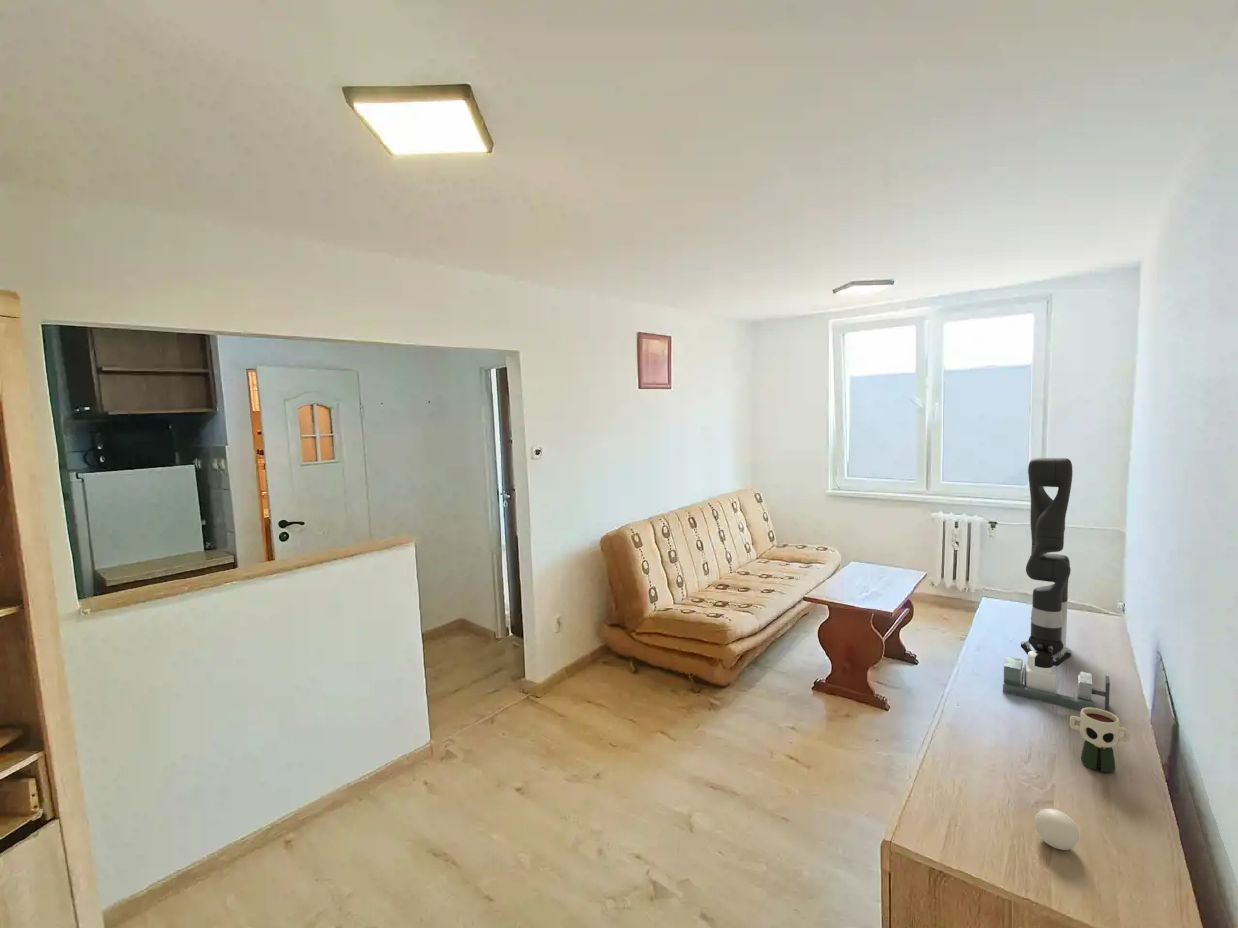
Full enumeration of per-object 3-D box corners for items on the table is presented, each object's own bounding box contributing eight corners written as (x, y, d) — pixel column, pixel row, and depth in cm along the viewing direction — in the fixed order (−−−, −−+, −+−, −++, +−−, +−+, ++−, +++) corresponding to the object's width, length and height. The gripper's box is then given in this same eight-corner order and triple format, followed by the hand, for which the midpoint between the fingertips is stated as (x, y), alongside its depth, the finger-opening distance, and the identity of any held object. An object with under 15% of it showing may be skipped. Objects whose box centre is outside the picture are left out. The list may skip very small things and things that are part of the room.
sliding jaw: (1077, 694, 166) (1078, 668, 165) (1107, 701, 161) (1109, 674, 160) (1077, 705, 160) (1078, 678, 159) (1108, 712, 155) (1110, 685, 155)
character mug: (1068, 765, 135) (1070, 714, 133) (1068, 750, 140) (1070, 701, 139) (1129, 782, 128) (1132, 729, 127) (1126, 766, 134) (1129, 714, 132)
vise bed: (1006, 678, 177) (1006, 656, 176) (1095, 698, 163) (1096, 674, 162) (1002, 691, 169) (1003, 668, 168) (1095, 714, 155) (1096, 688, 155)
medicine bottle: (1052, 688, 170) (1053, 650, 169) (1055, 699, 164) (1057, 660, 163) (1023, 683, 174) (1024, 646, 172) (1026, 693, 168) (1027, 655, 166)
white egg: (1062, 830, 115) (1063, 800, 114) (1085, 859, 108) (1087, 827, 107) (1026, 828, 116) (1027, 798, 115) (1047, 856, 109) (1048, 824, 108)
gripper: (1074, 622, 168) (1072, 676, 170) (1020, 613, 177) (1019, 665, 179) (1074, 631, 163) (1072, 687, 164) (1018, 621, 171) (1017, 675, 173)
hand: (1044, 675), depth 172 cm, fingers closed
